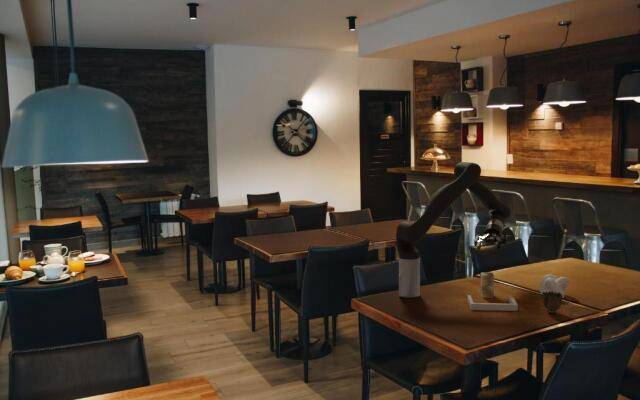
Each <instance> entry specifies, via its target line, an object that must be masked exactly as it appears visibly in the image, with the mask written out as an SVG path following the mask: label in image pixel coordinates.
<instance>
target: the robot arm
mask: <svg viewBox="0 0 640 400" xmlns="http://www.w3.org/2000/svg"><path fill="white" fill-rule="evenodd" d="M481 173H482V167H481V166H480V165H479V164H478V163H476V162H475V163H474V162H470V161H469V162H467V161H466V162H465V161H461V162H459V163H457V164H456V165H455V166H454V168H453V174H454V177H455V180H453V181H452V182H449V183H448V184H446V185H444V186H442V187H440V188H439V189H437V190H436V191H435V192H434V193H433V194H432V195H431V196H430V197H429V198H428V200H427V202H426V205H425V208H424V211H423V213H422V214H421V216H420V217H418V218H417V219H416V220H415V221H414V222H413V221H412V222H411V221H404V220H403V221H401V222H400V223H399V224H397V227H396V231H395V232H396V233H395V234H396V236H395V239H396V240H395V241H396V251H397V254H398V297H401V298H408V299H409V298H410V299H411V298H418V297H420V295H421V289H420V288H421V283H420V282H421V277H420V275H421V273H420V272H421V263H420V262H421V261H420V259H421V257H420V255H421V253H420V251H419V249H417V247H416V246H415V244H417V243H419V242H420V241H422V239H423V238H424V236H425V235H426V234H427V233H428V231H429V230H430V229H431V228H432V226H433V225H434V224H435V223H436V222H437V220H439V219H440V217H441V216H442V215H443V214H444V213H445V212H446V211H447V210H448V209H449V208H450V207H451V206H452V205H453V204H454V203H455V202H456V200H458V198H459V197H460V196H461V195H462V194H464V192H466V191H467V190H469V191H470V192H471V193H472V194H473V195H474V196H475V197H476V198H477V199H478V201H479V202H480V203H481V204H482V205H483V207H484V208H485V209H487V211H488V214H487V215H488V218H489V221H488V223H487V225H486V227H485V230H484V232H483V235H482V236H481V235H480V234H477V235H476V236H475V238H474V240H473V243H474V246H475V247H476V249H477V250H478V251H481V249H482V246H485V245H487V244H496V249H497V250H500V249H501V248H502V246H503V245H507V244H508V234H507V233H503V232H504V226H505V220H507V219H509V218H510V217H511V215H512V210H511V208H510V207H509V205H507V204H506V203H504V202H503V201H501V200H500V199H498V197H497V196H496V195H495V194H494V193H493V191H492V190H491V189H490V188H488V187H487V186H485V185H484V184H483V183H481V182H480V181H479V178H480V177H481Z"/></svg>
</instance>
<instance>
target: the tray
mask: <svg viewBox="0 0 640 400" xmlns="http://www.w3.org/2000/svg"><path fill="white" fill-rule="evenodd" d="M467 302H468V303H467V304H468V306H469V309H470V310H471V311H473V310H474V311H507V312H508V311H514V312H516V311H517V312H518V305H519V304H518V303H517V301H516V300H515V298H514V297H513V295H509V296H508V303H497V302H496V303H493V302H487V303H486V302H485V303H484V302H483V303H482V302H474V300H473V298H472V295H471V294H467Z"/></svg>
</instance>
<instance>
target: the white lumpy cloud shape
mask: <svg viewBox="0 0 640 400" xmlns="http://www.w3.org/2000/svg"><path fill="white" fill-rule="evenodd" d="M568 285H569V279H568V278H567V277H566V276H561V277H559V278H558V277H557V276H556V275H554V274H551V273H550V274H546V275H544V276H543V277H542V278H541V280H540V281H539V285H538V286H539V287H538V288H539V290H538V291H539V292H540V294H541V295H542V296H543V294H542V293H543V292H545V293H546V292H549V291H550V292H552V291H553V293H554V294H555V292H556V293H558V292H560V294H561V295H563V296H562V299H564V297H565V292H564V291H566V289H567V288H568Z"/></svg>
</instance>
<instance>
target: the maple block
mask: <svg viewBox="0 0 640 400" xmlns="http://www.w3.org/2000/svg"><path fill="white" fill-rule="evenodd" d="M480 296H481V298H484V299H485V298H486V299H487V298H488V299H489V298H491V299H494V297H495V275H494V273H493V272H480Z"/></svg>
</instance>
